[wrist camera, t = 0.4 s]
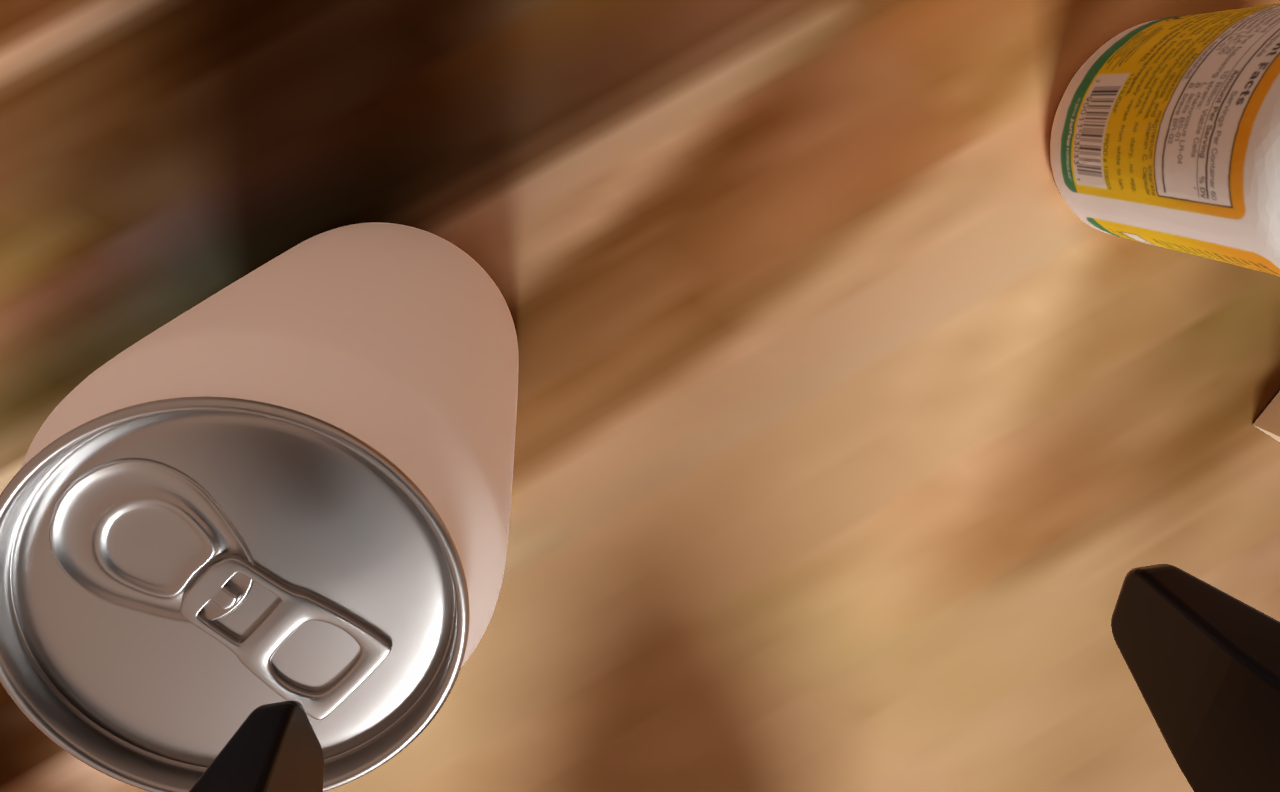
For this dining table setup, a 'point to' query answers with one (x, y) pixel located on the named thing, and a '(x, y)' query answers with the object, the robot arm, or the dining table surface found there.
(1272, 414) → the candle holder
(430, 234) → the can
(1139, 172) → the supplement bottle
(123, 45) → the dining table surface
